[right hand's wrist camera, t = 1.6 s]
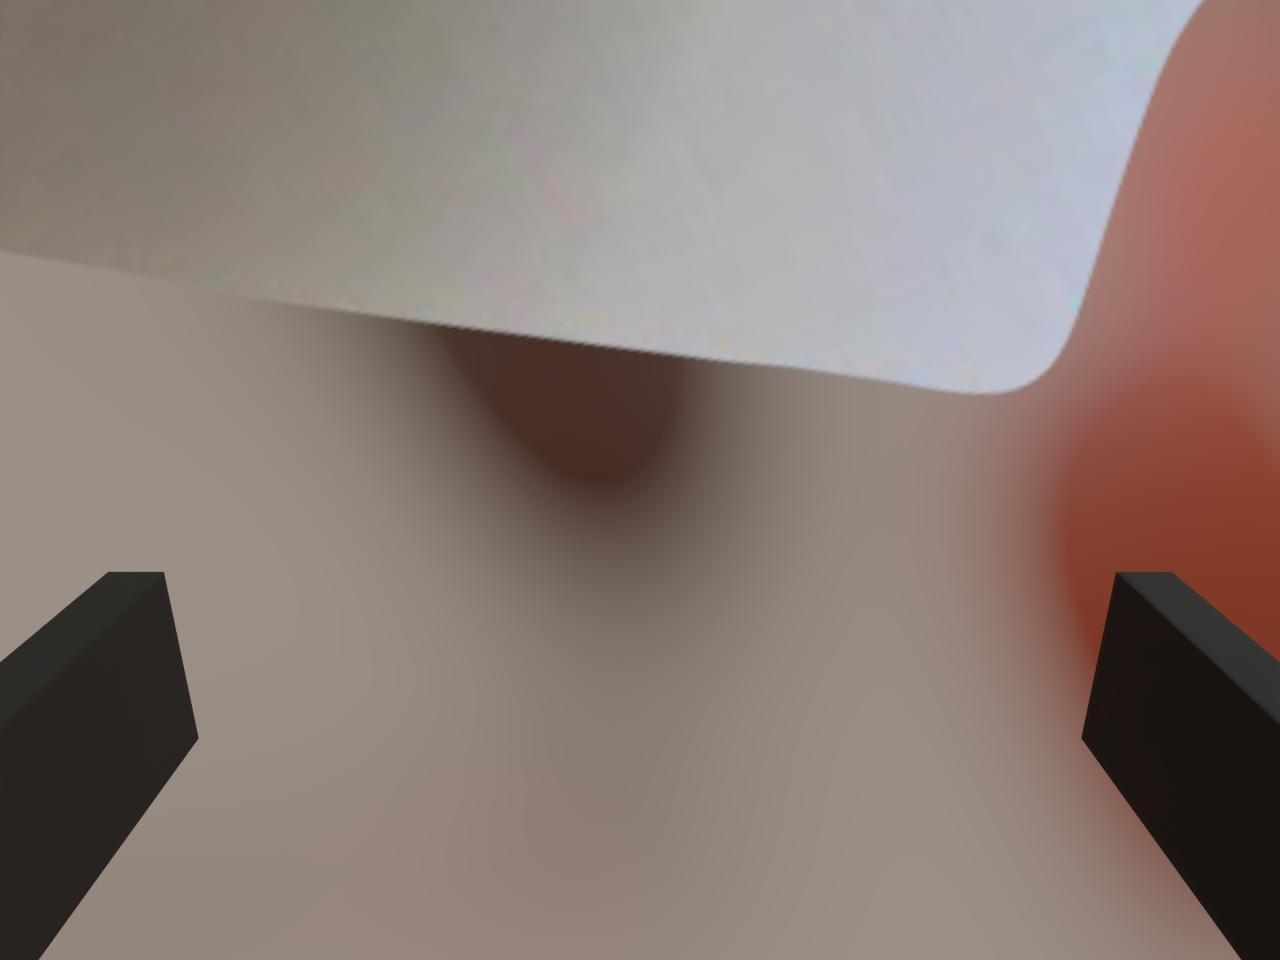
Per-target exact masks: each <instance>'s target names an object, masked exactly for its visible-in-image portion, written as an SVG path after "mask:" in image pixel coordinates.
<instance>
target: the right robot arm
mask: <svg viewBox="0 0 1280 960" xmlns="http://www.w3.org/2000/svg"><path fill="white" fill-rule="evenodd" d="M197 740H198V733H197V728H196V723H195V719H194V714H193V709H192V704H191V700H190V695H189V690H188V685H187V680H186V676H185V671H184V666H183V661H182V656H181V652H180V647H179V642H178V637H177V633H176V628H175V623H174V618H173V614H172V609H171V604H170V599H169V594H168V590H167V585H166V580H165V575H164V572H108V573H107V574H105V575H104V576H103V577H102V578H100V579H99V580H98V581H97V582H96V583H95V584H93V585H92V586H91V587H90V588H89V589H87V590H86V591H85V592H84V593H83V594H81V595H80V596H79V597H78V598H77V599H75V600H74V601H73V602H72V603H71V604H69V605H68V606H67V607H66V608H65V609H63V610H62V611H61V612H60V613H59V614H57V615H56V616H55V617H54V618H53V619H52V620H50V621H49V622H48V623H47V624H45V625H44V626H43V627H42V628H41V629H40V630H38V631H37V632H36V633H35V634H34V635H32V636H31V637H30V638H29V639H28V640H26V641H25V642H24V643H23V644H22V645H20V646H19V647H18V648H17V649H16V650H14V651H13V652H12V653H11V654H10V655H8V656H7V657H6V658H5V659H4V660H2V661H1V662H0V960H39V958H40V957H41V956H42V954H43V953H44V952H45V950H46V949H47V947H48V946H49V945H50V943H51V942H52V941H53V939H54V938H55V936H56V935H57V933H58V932H59V931H60V929H61V928H62V927H63V925H64V924H65V923H66V921H67V920H68V918H69V917H70V916H71V914H72V913H73V911H74V910H75V909H76V907H77V906H78V905H79V903H80V902H81V900H82V899H83V898H84V896H85V895H86V893H87V892H88V891H89V889H90V888H91V886H92V885H93V884H94V882H95V881H96V880H97V878H98V877H99V875H100V874H101V873H102V871H103V870H104V868H105V867H106V866H107V864H108V863H109V862H110V860H111V859H112V857H113V856H114V855H115V853H116V852H117V851H118V849H119V848H120V846H121V845H122V844H123V842H124V841H125V839H126V838H127V837H128V835H129V834H130V833H131V831H132V830H133V828H134V827H135V826H136V824H137V823H138V821H139V820H140V819H141V817H142V816H143V815H144V813H145V812H146V810H147V809H148V808H149V806H150V805H151V803H152V802H153V801H154V799H155V798H156V797H157V795H158V794H159V792H160V791H161V790H162V788H163V787H164V785H165V784H166V783H167V781H168V780H169V779H170V777H171V776H172V774H173V773H174V772H175V770H176V769H177V767H178V766H179V765H180V763H181V762H182V761H183V759H184V758H185V756H186V755H187V754H188V752H189V751H190V750H191V748H192V747H193V745H194V744H195V742H196V741H197ZM1082 740H1083V741H1084V743H1085V744H1086V745H1087V747H1088V748H1089V750H1090V751H1091V752H1092V754H1093V755H1094V756H1095V758H1096V759H1097V761H1098V762H1099V763H1100V765H1101V766H1102V767H1103V769H1104V770H1105V772H1106V773H1107V774H1108V776H1109V777H1110V779H1111V780H1112V781H1113V783H1114V784H1115V785H1116V787H1117V788H1118V790H1119V791H1120V792H1121V794H1122V795H1123V797H1124V798H1125V799H1126V801H1127V802H1128V804H1129V805H1130V806H1131V808H1132V809H1133V810H1134V812H1135V813H1136V815H1137V816H1138V817H1139V819H1140V820H1141V822H1142V823H1143V824H1144V826H1145V827H1146V828H1147V830H1148V831H1149V833H1150V834H1151V835H1152V837H1153V838H1154V839H1155V841H1156V842H1157V844H1158V845H1159V846H1160V848H1161V849H1162V851H1163V852H1164V853H1165V855H1166V856H1167V857H1168V859H1169V860H1170V862H1171V863H1172V864H1173V866H1174V867H1175V869H1176V870H1177V871H1178V873H1179V874H1180V875H1181V877H1182V878H1183V880H1184V881H1185V882H1186V884H1187V885H1188V887H1189V888H1190V889H1191V891H1192V892H1193V893H1194V895H1195V896H1196V898H1197V899H1198V900H1199V902H1200V903H1201V905H1202V906H1203V907H1204V909H1205V910H1206V911H1207V913H1208V914H1209V916H1210V917H1211V918H1212V920H1213V921H1214V923H1215V924H1216V925H1217V927H1218V928H1219V929H1220V931H1221V932H1222V934H1223V935H1224V936H1225V938H1226V939H1227V941H1228V942H1229V943H1230V945H1231V946H1232V947H1233V949H1234V950H1235V952H1236V953H1237V954H1238V956H1239V957H1240V959H1241V960H1280V662H1279V661H1277V660H1276V659H1275V658H1274V657H1273V656H1272V655H1270V654H1269V653H1268V652H1267V651H1266V650H1264V649H1263V648H1262V647H1261V646H1260V645H1258V644H1257V643H1256V642H1255V641H1254V640H1252V639H1251V638H1250V637H1249V636H1248V635H1246V634H1245V633H1244V632H1243V631H1242V630H1240V629H1239V628H1238V627H1237V626H1236V625H1235V624H1233V623H1232V622H1231V621H1230V620H1228V619H1227V618H1226V617H1225V616H1224V615H1223V614H1221V613H1220V612H1219V611H1218V610H1216V609H1215V608H1214V607H1213V606H1212V605H1211V604H1209V603H1208V602H1207V601H1206V600H1205V599H1203V598H1202V597H1201V596H1200V595H1199V594H1197V593H1196V592H1195V591H1194V590H1193V589H1191V588H1190V587H1189V586H1188V585H1187V584H1185V583H1184V582H1183V581H1182V580H1181V579H1179V578H1178V577H1177V576H1176V575H1175V574H1174V573H1172V572H1116V575H1115V580H1114V585H1113V590H1112V594H1111V599H1110V604H1109V609H1108V613H1107V618H1106V623H1105V628H1104V633H1103V637H1102V642H1101V647H1100V652H1099V656H1098V661H1097V666H1096V671H1095V676H1094V680H1093V685H1092V690H1091V695H1090V699H1089V704H1088V709H1087V714H1086V719H1085V723H1084V728H1083V733H1082Z"/></svg>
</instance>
